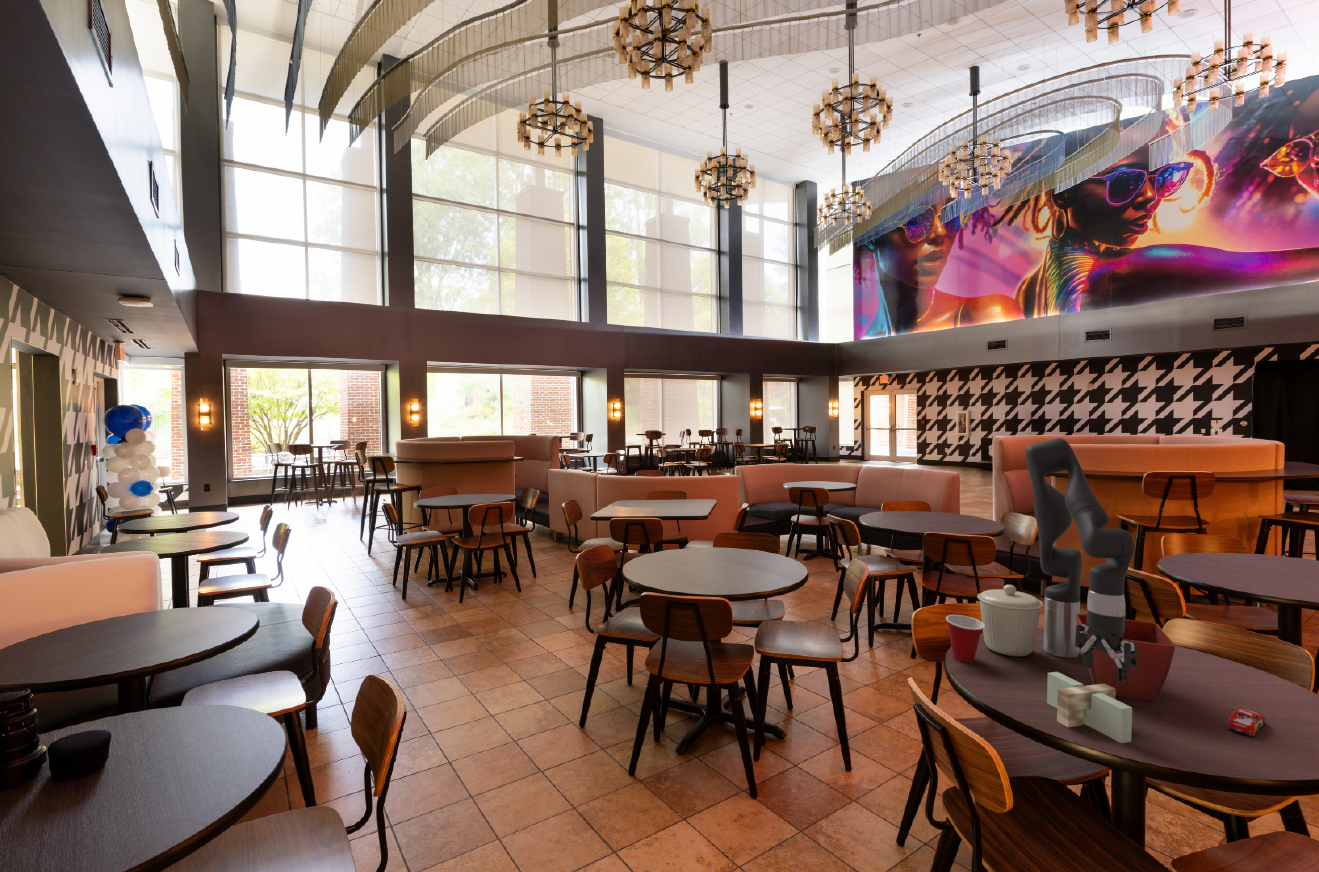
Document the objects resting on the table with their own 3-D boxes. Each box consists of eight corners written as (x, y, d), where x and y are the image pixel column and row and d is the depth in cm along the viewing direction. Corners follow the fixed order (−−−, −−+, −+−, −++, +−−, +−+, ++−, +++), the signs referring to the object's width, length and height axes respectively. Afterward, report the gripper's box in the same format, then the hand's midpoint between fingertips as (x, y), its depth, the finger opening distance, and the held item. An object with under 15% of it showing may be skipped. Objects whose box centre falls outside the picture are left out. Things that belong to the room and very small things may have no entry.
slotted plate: (1103, 715, 154) (1104, 683, 153) (1114, 720, 151) (1115, 688, 150) (1056, 721, 150) (1057, 689, 150) (1067, 727, 148) (1068, 694, 147)
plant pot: (1083, 695, 164) (1084, 633, 164) (1073, 669, 181) (1075, 612, 181) (1174, 711, 155) (1176, 646, 155) (1155, 682, 172) (1157, 623, 172)
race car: (1237, 715, 154) (1238, 699, 154) (1267, 724, 150) (1268, 708, 150) (1222, 730, 147) (1223, 714, 147) (1253, 740, 142) (1254, 723, 142)
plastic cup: (978, 669, 181) (979, 629, 181) (940, 659, 189) (940, 620, 188) (988, 658, 189) (989, 619, 189) (951, 649, 196) (952, 612, 196)
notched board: (1046, 703, 160) (1047, 672, 160) (1056, 701, 161) (1057, 671, 160) (1120, 743, 140) (1121, 709, 140) (1131, 741, 141) (1132, 707, 141)
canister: (1030, 667, 183) (1032, 597, 182) (967, 649, 196) (968, 584, 195) (1049, 651, 195) (1051, 585, 194) (988, 636, 208) (990, 574, 207)
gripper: (1067, 602, 156) (1066, 664, 157) (1121, 621, 143) (1120, 689, 143) (1091, 599, 158) (1089, 661, 159) (1147, 618, 144) (1145, 685, 145)
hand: (1104, 674), depth 151 cm, fingers open, 8 cm apart
